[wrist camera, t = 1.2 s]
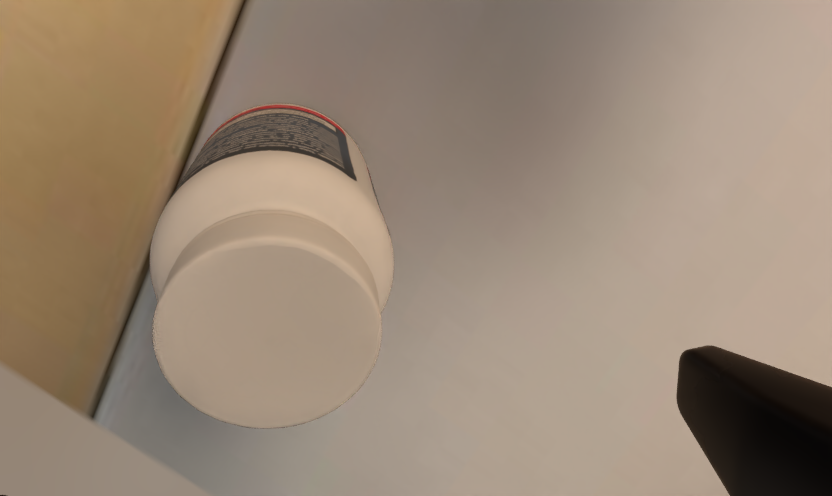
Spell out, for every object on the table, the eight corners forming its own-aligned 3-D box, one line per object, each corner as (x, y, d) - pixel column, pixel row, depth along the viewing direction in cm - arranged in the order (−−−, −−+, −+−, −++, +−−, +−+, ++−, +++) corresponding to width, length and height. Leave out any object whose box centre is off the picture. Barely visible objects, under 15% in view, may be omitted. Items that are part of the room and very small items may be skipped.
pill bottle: (159, 162, 17) (30, 308, 9) (306, 66, 17) (304, 132, 9) (267, 291, 20) (238, 499, 12) (399, 209, 19) (465, 365, 11)
